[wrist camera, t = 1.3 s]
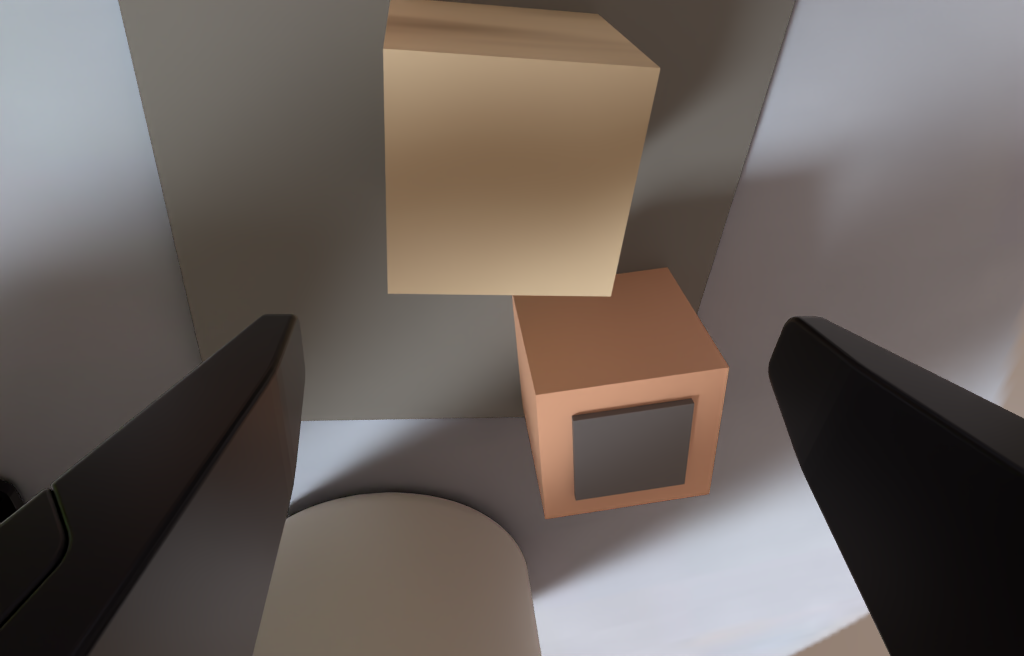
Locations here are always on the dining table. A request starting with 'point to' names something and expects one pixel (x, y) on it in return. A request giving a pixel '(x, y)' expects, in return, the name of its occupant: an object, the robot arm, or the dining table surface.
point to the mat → (362, 183)
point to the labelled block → (619, 395)
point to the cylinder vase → (397, 582)
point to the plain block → (509, 148)
